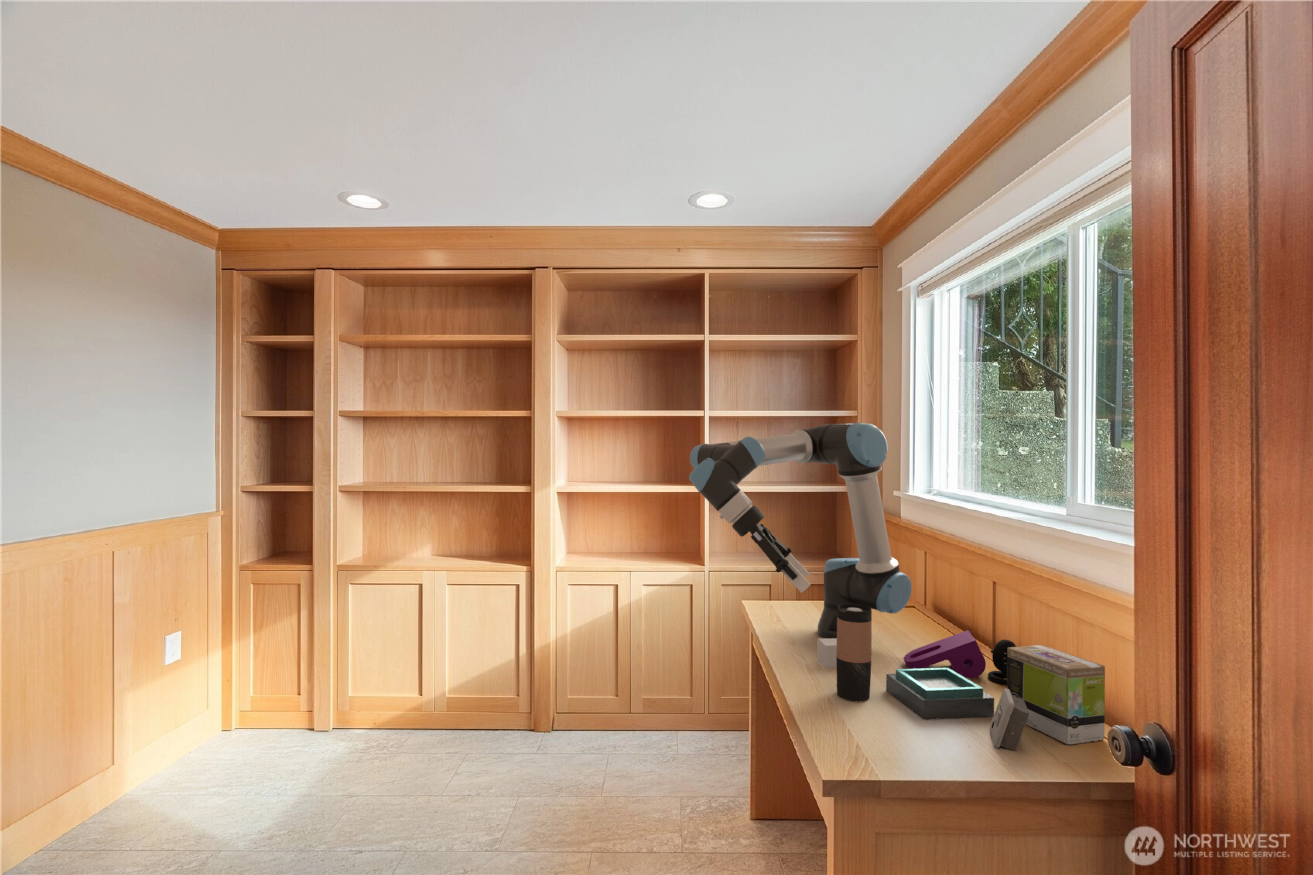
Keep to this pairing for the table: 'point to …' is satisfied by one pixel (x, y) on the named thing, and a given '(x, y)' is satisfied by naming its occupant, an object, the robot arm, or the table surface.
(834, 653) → the light grey cube
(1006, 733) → the electrical switch
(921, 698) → the block with teal frame
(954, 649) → the mounting bracket
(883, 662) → the table surface
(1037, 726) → the tea box
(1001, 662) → the webcam
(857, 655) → the travel mug
